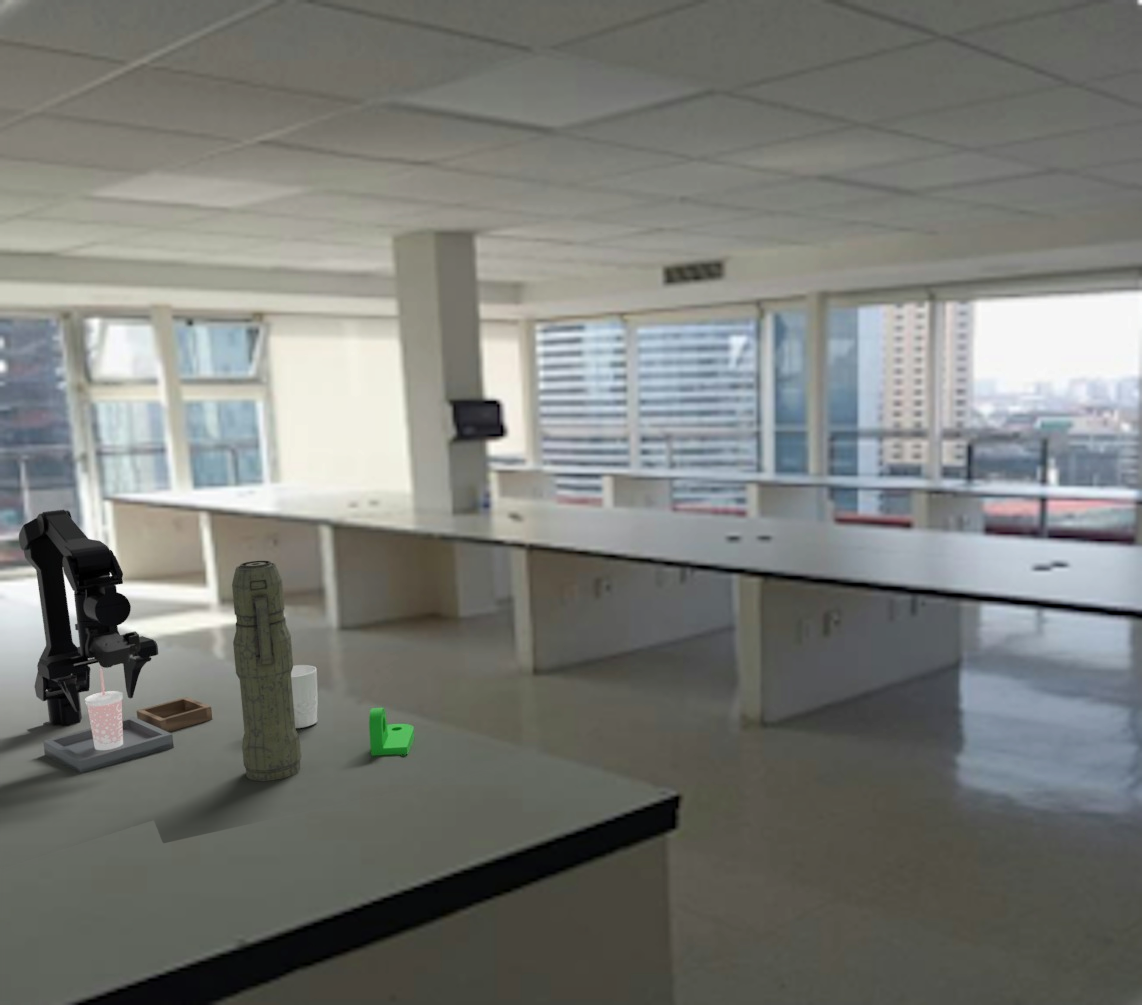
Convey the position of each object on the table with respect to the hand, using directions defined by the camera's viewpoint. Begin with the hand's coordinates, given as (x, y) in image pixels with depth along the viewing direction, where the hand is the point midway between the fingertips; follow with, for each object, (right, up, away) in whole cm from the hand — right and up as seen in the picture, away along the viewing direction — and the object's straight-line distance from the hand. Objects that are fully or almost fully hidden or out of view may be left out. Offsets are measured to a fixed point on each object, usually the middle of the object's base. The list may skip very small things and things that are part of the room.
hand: (104, 704), depth 182 cm
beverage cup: (0, -8, +1) cm, 8 cm away
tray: (0, -8, +1) cm, 9 cm away
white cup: (+31, -6, +12) cm, 34 cm away
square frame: (+6, -6, +16) cm, 18 cm away
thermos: (+34, -9, -14) cm, 38 cm away
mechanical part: (+52, -7, -3) cm, 52 cm away
